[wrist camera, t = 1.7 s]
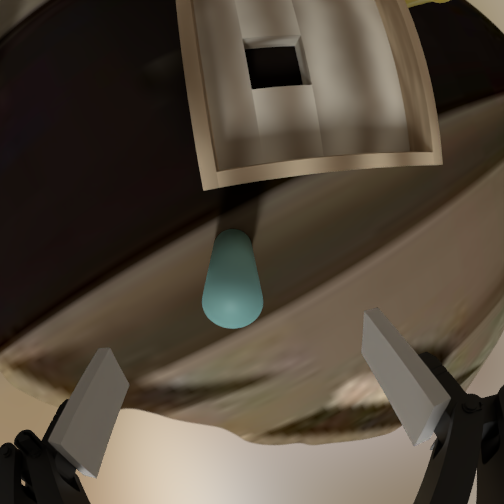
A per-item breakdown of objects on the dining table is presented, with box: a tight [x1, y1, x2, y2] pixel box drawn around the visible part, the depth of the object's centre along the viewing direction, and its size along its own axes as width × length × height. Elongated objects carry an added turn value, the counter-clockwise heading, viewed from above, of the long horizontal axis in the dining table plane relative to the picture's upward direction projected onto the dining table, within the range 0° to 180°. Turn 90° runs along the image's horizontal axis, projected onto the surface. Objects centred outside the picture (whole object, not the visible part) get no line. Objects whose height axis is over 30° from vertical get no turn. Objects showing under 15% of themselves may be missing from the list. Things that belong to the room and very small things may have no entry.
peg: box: [202, 229, 263, 328], centre depth 24 cm, size 4×4×12 cm
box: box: [176, 0, 443, 191], centre depth 20 cm, size 22×22×7 cm
